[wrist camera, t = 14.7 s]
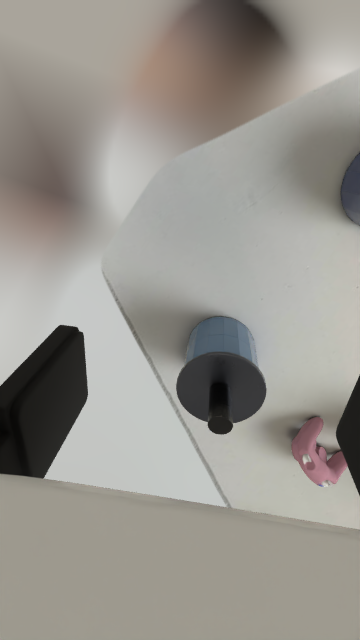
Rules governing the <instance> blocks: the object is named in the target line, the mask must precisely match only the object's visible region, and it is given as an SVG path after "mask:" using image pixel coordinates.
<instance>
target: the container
mask: <svg viewBox="0 0 360 640" xmlns="http://www.w3.org/2000/svg"><path fill="white" fill-rule="evenodd" d="M341 200H342V205H343V208H344V210H345V212H346V214H347V215H348V216H349V218H350V219H351V220H352V221H353V222H355V223H357V224H358V225H360V153H359V154H358V155H357V156H356V158H355V159H354V160H353V161H352V163H351V164H350V166H349V168H348V169H347V172H346V174H345V176H344V179H343V183H342V188H341Z"/></svg>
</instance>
